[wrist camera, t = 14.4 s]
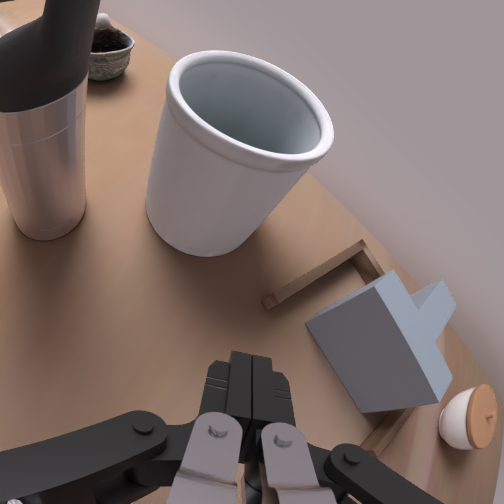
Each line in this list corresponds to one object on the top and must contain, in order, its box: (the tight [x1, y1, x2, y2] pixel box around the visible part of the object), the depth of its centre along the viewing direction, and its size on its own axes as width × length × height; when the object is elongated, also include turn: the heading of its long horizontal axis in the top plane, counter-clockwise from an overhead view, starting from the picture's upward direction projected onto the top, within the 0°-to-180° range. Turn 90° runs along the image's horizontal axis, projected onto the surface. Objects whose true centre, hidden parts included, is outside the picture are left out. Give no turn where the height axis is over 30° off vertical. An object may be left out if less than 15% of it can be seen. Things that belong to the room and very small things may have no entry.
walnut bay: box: [262, 239, 415, 457], centre depth 36 cm, size 23×18×3 cm
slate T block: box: [305, 269, 457, 413], centre depth 33 cm, size 14×12×12 cm
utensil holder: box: [146, 51, 334, 257], centre depth 30 cm, size 15×15×18 cm
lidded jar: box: [438, 384, 497, 450], centre depth 34 cm, size 11×11×9 cm
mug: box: [88, 14, 135, 81], centre depth 38 cm, size 10×12×10 cm
